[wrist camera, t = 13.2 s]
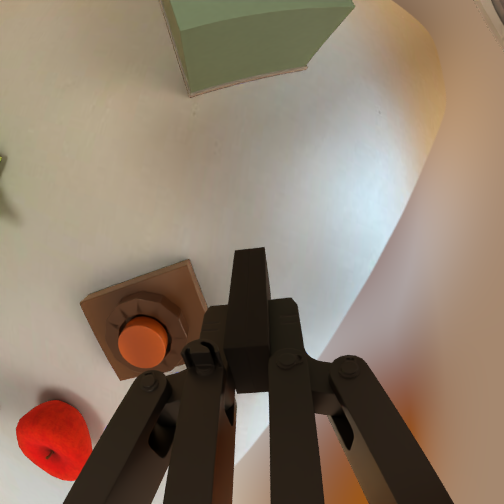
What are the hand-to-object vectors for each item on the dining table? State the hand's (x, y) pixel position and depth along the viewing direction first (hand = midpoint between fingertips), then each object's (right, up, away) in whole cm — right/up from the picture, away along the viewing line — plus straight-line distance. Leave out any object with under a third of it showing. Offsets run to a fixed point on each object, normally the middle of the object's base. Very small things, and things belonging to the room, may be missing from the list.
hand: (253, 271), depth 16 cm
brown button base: (-9, -5, +10) cm, 14 cm away
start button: (-8, -6, +6) cm, 12 cm away
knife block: (-2, +22, +5) cm, 23 cm away
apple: (-21, -18, +11) cm, 30 cm away
